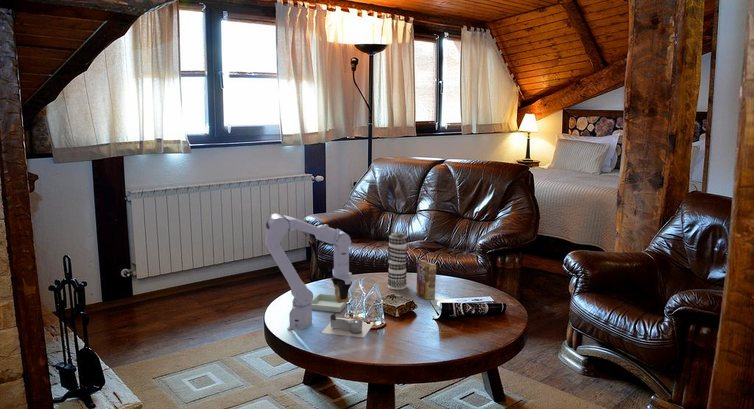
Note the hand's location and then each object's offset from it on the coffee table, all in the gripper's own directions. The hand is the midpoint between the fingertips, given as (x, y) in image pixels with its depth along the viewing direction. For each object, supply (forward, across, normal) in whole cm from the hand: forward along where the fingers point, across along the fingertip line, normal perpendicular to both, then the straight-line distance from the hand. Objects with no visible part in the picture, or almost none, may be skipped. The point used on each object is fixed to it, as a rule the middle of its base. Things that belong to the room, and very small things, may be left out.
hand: (341, 297), depth 230 cm
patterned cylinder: (+10, +29, -38) cm, 49 cm away
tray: (+9, +16, -1) cm, 19 cm away
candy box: (+10, +12, -44) cm, 47 cm away
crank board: (+9, -10, +1) cm, 14 cm away
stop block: (+2, 0, 0) cm, 2 cm away
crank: (+8, -12, +3) cm, 15 cm away
